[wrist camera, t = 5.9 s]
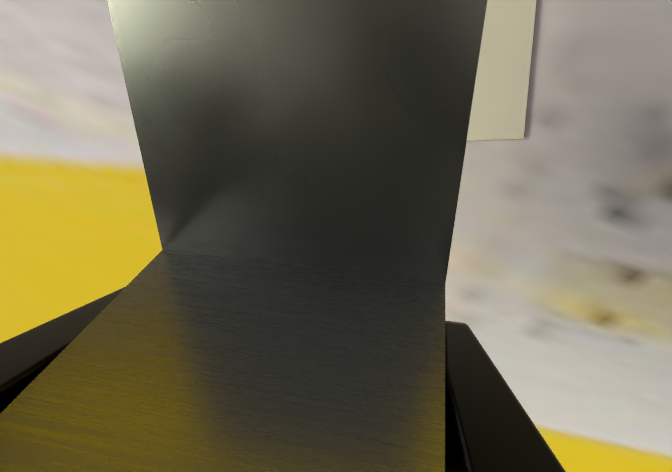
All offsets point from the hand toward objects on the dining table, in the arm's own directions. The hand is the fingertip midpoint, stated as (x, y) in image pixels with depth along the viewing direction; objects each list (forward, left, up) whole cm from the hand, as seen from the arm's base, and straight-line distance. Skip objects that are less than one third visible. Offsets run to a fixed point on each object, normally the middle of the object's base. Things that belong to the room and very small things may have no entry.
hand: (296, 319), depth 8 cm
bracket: (-3, 0, -2) cm, 4 cm away
